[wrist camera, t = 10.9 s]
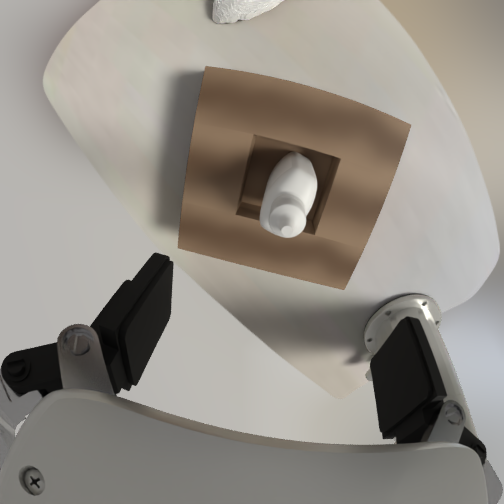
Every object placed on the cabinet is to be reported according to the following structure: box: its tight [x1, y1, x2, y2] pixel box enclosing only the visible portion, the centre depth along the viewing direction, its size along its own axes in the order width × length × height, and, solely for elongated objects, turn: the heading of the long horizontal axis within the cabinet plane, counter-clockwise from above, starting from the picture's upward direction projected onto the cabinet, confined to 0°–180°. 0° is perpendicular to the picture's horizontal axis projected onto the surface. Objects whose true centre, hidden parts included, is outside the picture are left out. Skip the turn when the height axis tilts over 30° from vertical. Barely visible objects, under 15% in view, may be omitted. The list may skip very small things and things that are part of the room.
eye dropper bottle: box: [260, 151, 317, 238], centre depth 22 cm, size 4×6×12 cm
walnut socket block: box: [178, 66, 411, 290], centre depth 26 cm, size 18×18×4 cm
